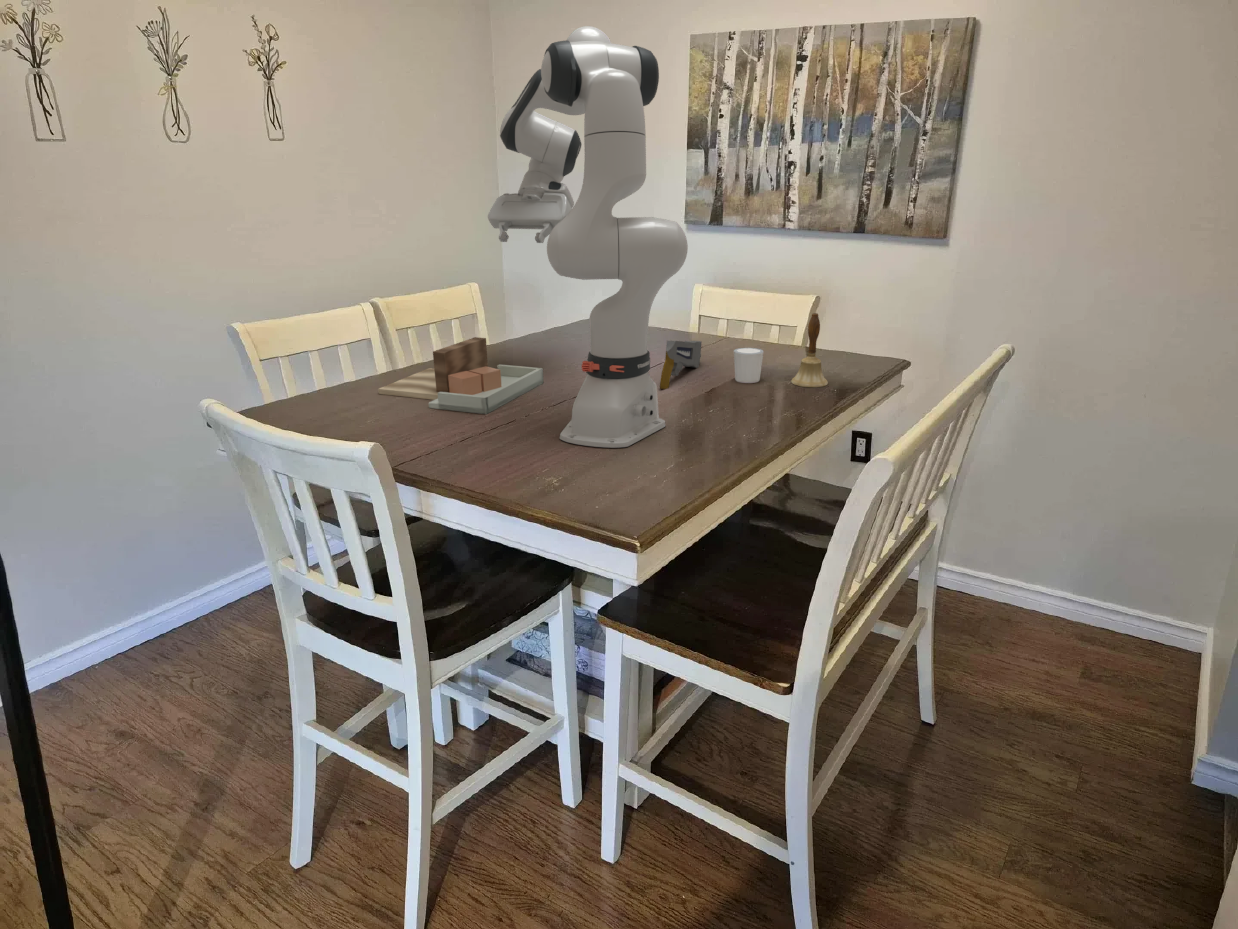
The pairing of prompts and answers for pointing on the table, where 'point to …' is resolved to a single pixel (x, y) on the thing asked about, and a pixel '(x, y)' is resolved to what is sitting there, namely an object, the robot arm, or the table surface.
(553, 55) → the robot arm
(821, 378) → the hand bell
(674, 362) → the gun
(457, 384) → the terracotta block
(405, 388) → the board
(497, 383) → the terracotta square block
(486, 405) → the tray
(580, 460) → the table surface
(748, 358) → the white tapered cylinder
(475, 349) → the bar
